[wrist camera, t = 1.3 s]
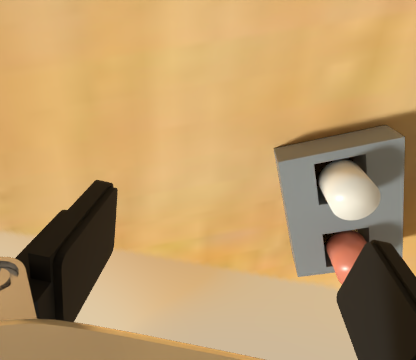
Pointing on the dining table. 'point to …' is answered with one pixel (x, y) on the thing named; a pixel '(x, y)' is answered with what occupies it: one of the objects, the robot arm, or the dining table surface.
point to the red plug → (344, 251)
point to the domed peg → (348, 190)
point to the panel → (317, 204)
